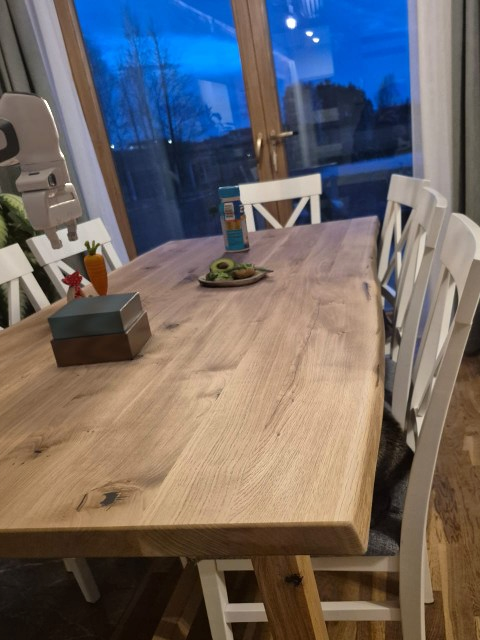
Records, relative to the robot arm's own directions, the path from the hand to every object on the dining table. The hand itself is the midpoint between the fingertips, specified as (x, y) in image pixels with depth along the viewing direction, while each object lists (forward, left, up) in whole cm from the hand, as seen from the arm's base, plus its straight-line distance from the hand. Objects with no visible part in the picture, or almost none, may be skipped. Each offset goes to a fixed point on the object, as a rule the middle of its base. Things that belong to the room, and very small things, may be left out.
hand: (66, 244), depth 127 cm
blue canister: (+29, +66, -17) cm, 74 cm away
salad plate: (+32, +24, -17) cm, 43 cm away
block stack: (+13, -25, -17) cm, 33 cm away
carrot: (-1, +17, -17) cm, 24 cm away
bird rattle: (0, 0, -17) cm, 17 cm away
